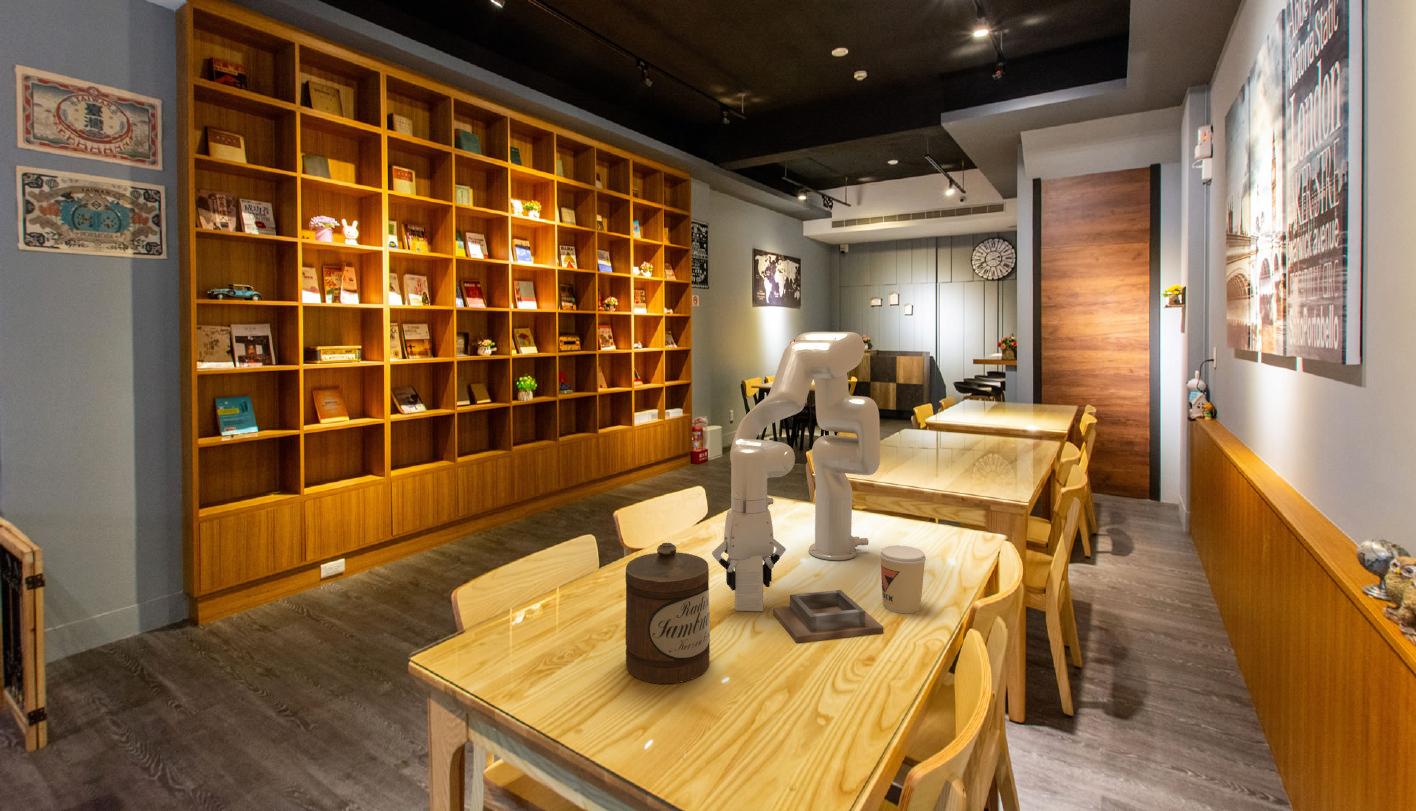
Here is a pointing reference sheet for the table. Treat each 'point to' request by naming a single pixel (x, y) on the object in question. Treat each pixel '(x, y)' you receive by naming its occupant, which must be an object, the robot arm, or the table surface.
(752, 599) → the skincare box
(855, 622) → the sleeve holder
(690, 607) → the wooden container
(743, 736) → the table surface
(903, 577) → the coffee cup
